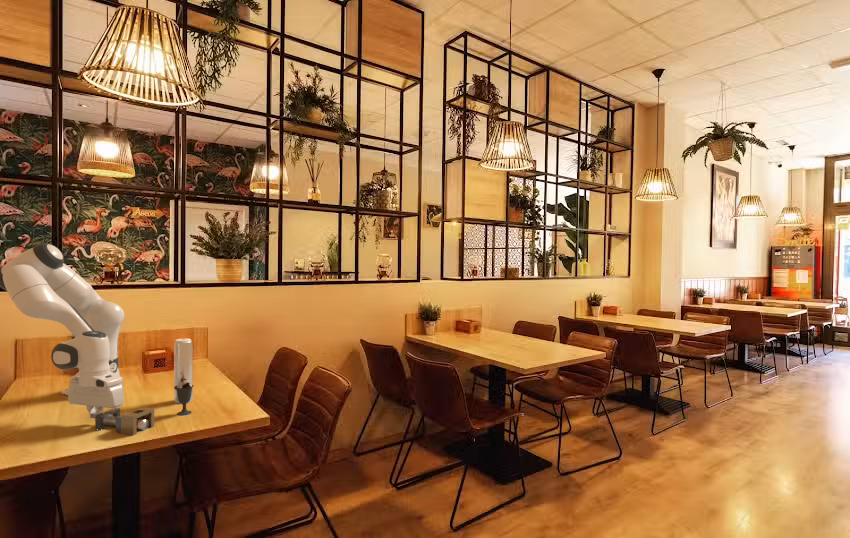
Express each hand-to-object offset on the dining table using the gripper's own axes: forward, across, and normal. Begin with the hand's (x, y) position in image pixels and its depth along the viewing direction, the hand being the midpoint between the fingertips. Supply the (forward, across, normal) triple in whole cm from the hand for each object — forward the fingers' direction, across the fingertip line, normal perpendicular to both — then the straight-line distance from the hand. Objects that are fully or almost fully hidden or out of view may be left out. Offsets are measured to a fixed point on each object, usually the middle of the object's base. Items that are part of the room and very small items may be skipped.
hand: (95, 418), depth 160 cm
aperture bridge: (+2, +18, -1) cm, 19 cm away
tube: (+2, +12, -1) cm, 12 cm away
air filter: (+2, +10, +29) cm, 31 cm away
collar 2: (+2, +14, -1) cm, 15 cm away
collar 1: (+2, +6, -1) cm, 6 cm away
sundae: (+2, +21, +17) cm, 27 cm away
